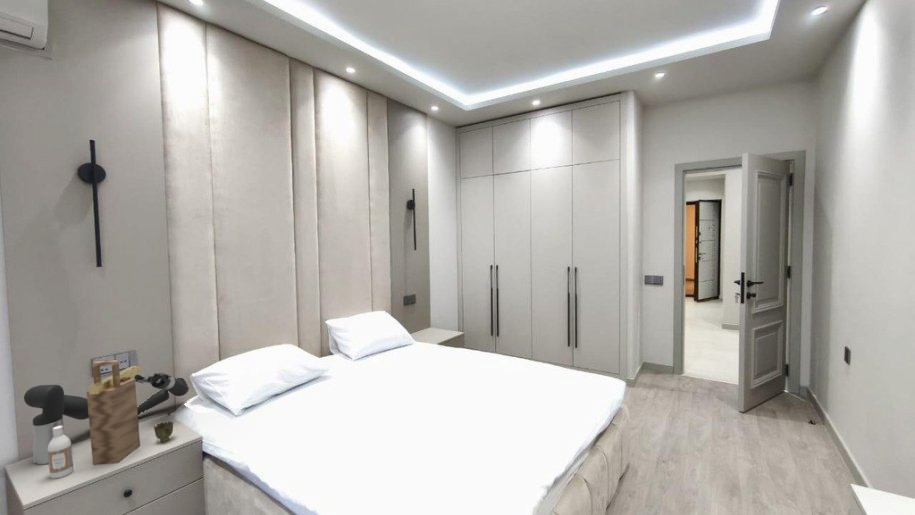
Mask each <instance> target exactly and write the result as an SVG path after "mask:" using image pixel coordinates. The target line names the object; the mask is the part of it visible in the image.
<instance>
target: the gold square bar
mask: <svg viewBox="0 0 915 515" xmlns="http://www.w3.org/2000/svg"><path fill="white" fill-rule="evenodd" d="M119 373H120V383H121V382H122V380H123V379H125V378H127V377H130V379H132V378H133V377H135V375H140V373H141V366H140V365H131V366H129V367H127V368H125V369H122V370H119ZM111 387H113V376H112V375H110V376H107V377H106V378H104V379H101V381H99V382H97V383H95V384H94V383H93V384H91V385H89V386H88V390H89V394H99V393H101V392H103V391H105V390H107V389H109V388H111Z"/></svg>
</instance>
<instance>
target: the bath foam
mask: <svg viewBox="0 0 915 515" xmlns="http://www.w3.org/2000/svg"><path fill="white" fill-rule="evenodd" d="M53 436H54V437H53V439H52V440H51V442H50V443H49V445H48V461H49V463H48V469H49V472H48V473H49V477H50V479H54V480H55V479H60V478H64V477H66V476H68V475H70V474H72V473H73V472H74V459H73V447H72V446H73V445H72V441H71V439H70V438H69V437H68V436H67V435H65V433H64V434H63V426H57V427H54V428H53Z"/></svg>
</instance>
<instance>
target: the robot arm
mask: <svg viewBox="0 0 915 515" xmlns="http://www.w3.org/2000/svg"><path fill="white" fill-rule="evenodd" d="M176 378H177V379H176ZM183 378H184V377H183ZM183 378H178V377H174V376H172V375H169V374H167V373H164V372H158V373H154V374H152V375H148V374H146V375H140V374H137V375H135V376H134V378H133V379H135V383H139V384H140V383H141V384H145V383H146V384H150V385H151V387H153V388H155V389H158V390H160V389H162V390H160V391H159V392H157V393H156V394H154V395H152V396H151V397H150V398H149V399H147V401H145V402H144V403H142V404H141V405H139V407H137V412H138V415H139V414H140V413H141V412H144V411H145V410H147V411H149V410H151V409H153V408H154V407H156V406H159V405H160V404H162V403H164V402H166V401H168V400H169V399H170V394H171V395H173V396H175V397H182V396H185V395H187V394H188V392H189V390H190V388H189V386H188V384H187V382H186V380H184V379H185V378H184V379H183ZM168 391H169V393H168ZM23 399H24V400H23V401H24V403H25V404H26V405H27V406H28V407H30V408H36V409H42V411H41V412H42V413H39V414H38V415H36V416H35V417H33V419H32V430H33V438H34V439H33V441H32V442H31V447H32V456H33V457H32V458H33V459H32V460H33V464H37V465H46V464H49V461H48V445H49V443H50V442H51V440H52V439H53V437H54V436H53V428H54V427H57V426H63V434H64V435H65V425H64V416H66V417H67V418H71V419H75V420H79V421H83V420H87V419H89V413H88V402H87V397H83V396H79V395H78V396H76V395H69V394H65V391H64V388H63V387H62V386H61V385H60V384H40V385H37V386H35V385H34V386H33V387H31V388H29V389H28V390H26V392H25V393H24V395H23ZM150 408H151V409H150ZM148 409H149V410H148ZM144 413H145V412H144Z"/></svg>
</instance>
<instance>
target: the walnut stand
mask: <svg viewBox="0 0 915 515" xmlns="http://www.w3.org/2000/svg"><path fill="white" fill-rule="evenodd" d="M119 361H120V360H119V359H117V360H116V359H115V360H103V361H102V360H100V361H99V360H98V361H93V362H91V364H92V374H93V376H92V377H93V384H95V383H97V382H99V381H101V380H102V371H101V367H103V366H104V367H105V366H106V367H107V366H111V372H112V373H111V374H112V375H111V376H113V387H111V388H109V389H107V390H105V391H103V392H101V393H99V394H89V391H87V392H86V399H87V402H88V413H89V418H88V422H89V423H88V424H89V436H90V446H91V457H92V459H91V460H92V465H93V466H98V465H108V464H110V465H111V464H119V463H121V462H122V461H123V460H124V459H125V458H127V457H128V456H129V455H131V454H132V453H133V452H134V451H136V450H137V449H138V448H140V446H141V442H140V441H141V439H140V428H139V427H140V426H139V416H138V412H137V406H138V403H137V388H136V387H137V386H136V382H135V380H136V379H134V378H130V377H127V378H125V379H123V380H122V382H121V383H120V373H119V372H120V362H119Z"/></svg>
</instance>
